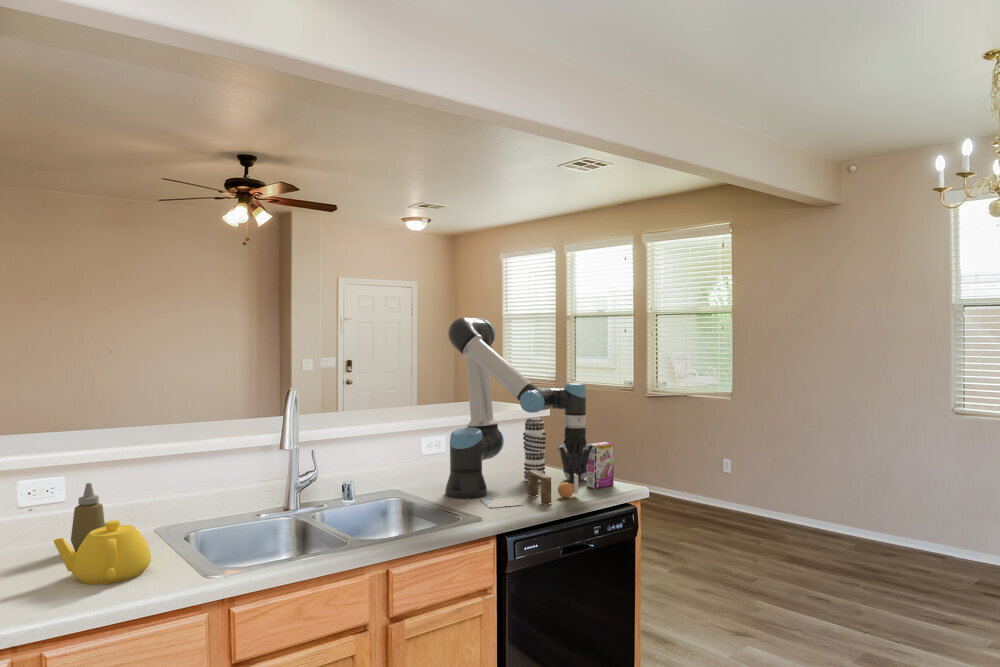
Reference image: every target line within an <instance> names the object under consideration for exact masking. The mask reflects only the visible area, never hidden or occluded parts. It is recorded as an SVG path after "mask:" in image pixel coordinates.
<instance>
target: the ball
mask: <svg viewBox="0 0 1000 667" xmlns="http://www.w3.org/2000/svg"><path fill="white" fill-rule="evenodd" d="M557 492H558V495H559V496H560V497H561V498H563V499H568V498H571V497H572V495H573V494H574V493H573V487H572V485H571V484H570V483H569V481H568V482H566V481H564V482H562V483H560V484H559V485H558V487H557Z"/></svg>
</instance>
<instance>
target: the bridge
mask: <svg viewBox="0 0 1000 667" xmlns="http://www.w3.org/2000/svg"><path fill="white" fill-rule="evenodd" d="M538 479H540V480H541V483H540V504H541V503H542V504H549V503H551V504H552V477H551V476H549V475H548V474H546V473H545V474H544V473H542V472H540V471H538V470H528V482H527V483H528V488H527V489H528V492H527V494H528V495H530V496H536V495H538V496H539V483H538ZM530 496H529V497H530ZM536 497H537V496H536ZM542 504H541V505H542Z"/></svg>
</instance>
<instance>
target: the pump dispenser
mask: <svg viewBox="0 0 1000 667" xmlns="http://www.w3.org/2000/svg"><path fill="white" fill-rule="evenodd" d="M565 452H566V456H567V460H568V465H569V454H568V450H567V449H566V450H565ZM583 453H584V448H583V450H582V455H581V462H582V457H583ZM562 472H563V475H564V477H565V478H566V479H567V480H568V481H569V474H568V473H566V472H564V468H563V467H562ZM575 474H576V473H575ZM583 480H586V472H583V473H582V475H581V477H580V482H582V481H583Z"/></svg>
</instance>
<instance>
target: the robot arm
mask: <svg viewBox="0 0 1000 667" xmlns="http://www.w3.org/2000/svg"><path fill="white" fill-rule="evenodd" d="M448 339H449V341H450V343H451V345H452V346H453V347H454V349H456V350H457V351H458V352H459V353H460V354H461V355H462V356H463V357H464V358H465V360H466V362H465V363H466V373H467V375H466V376H467V385H468V396H469V397H468V398H469V399H468V402H469V410H470V412H469V415H470V421H469V422H468V423H467V427H462V428H457V429H454V430H453V431H452V432H451V433H450V436H449V437H450V438H449V458H450V460H449V470H450V471H449V472H450V473H449V475H448V479H447V482H446V485H445V496H447V497H448V498H449V497H450V498H455V499H475V498H482V497H485V496H487V494H488V487H487V483H486V481H485V477H484V474H483V461H486V460H489V459H492V458H495V456H498V455H499V454H500V452H501V451H502V449H503V447H504V442H505V440H504V435H503V433H502V431H500V429H499V428H498V425H499V424H498V421H496V420H495V419H494V413H493V399H492V387H491V377H492V378H493V379H494V380H495V381H496V382H497V383H498V384H500V385H501V386H502V387H503V388H504V389H505V390H506V391H508V393H510V394H511V395H512V397H514V398H515V399H517V400H518V402H519V405H520V408H521V409H522V410H523V411H524V412H526V413H530V414H531V413H539V412H541V411H547V410H551V409H552V410H555V409H556V410H564V426H565V427H564V441H563V444H561V445H559V446H557V450H558V452H559V454H560V458H561V463H562V469H563V468H564V472H566V473H568V474H569V480H568V483H570V484H571V485H572V487H573V494H575V495H576V494H579V484H581V481H580V477H581V475H582V473H583V472H586V467H587V463H588V458H589V454H590V451H591V449H592V446H590V445H588V444H589V443H587V440H586V435H587V433H586V431H587V430H586V427H585V426H586V425H587V422H586V421H587V419H586V418H587V417H586V416H587V412H586V410H587V389H586V388H587V387H586V385H585V384H584V383H579V382H578V383H577V382H568V383H567V382H566V383H565V384H564V388H558V387H557V388H556V387H545V386H544V387H542V386H541V387H537V386H535V385H534V384H533V383H532V382H531V381H530V380H529V379H528V378H526V377H525V376H524V375H523V374H522V373H521V372H519V370H517V369H516V368H515V367H513V366H512V365H511V364H510V363H509V362H508V361H507V360H506V359H505V358H504V357H502V356H501V355H499V354H498V353H497V352H496V350H494V348H492V345H493V343H494V342H495V341H496V340H495V339H496V331H495V328H494V325H492V324H491V322H489V321H488V320H486V319H484V318H481V317H460V318H456V319H455V320H454V321H453V322H452V323H451V324H450V325H449V329H448ZM583 449H584V453H583V457H582V462H581V455H582V450H583ZM567 450H568V454H569V465H568V460H567V456H566V451H567ZM564 472H563V473H564ZM575 473H576V474H575Z"/></svg>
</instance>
